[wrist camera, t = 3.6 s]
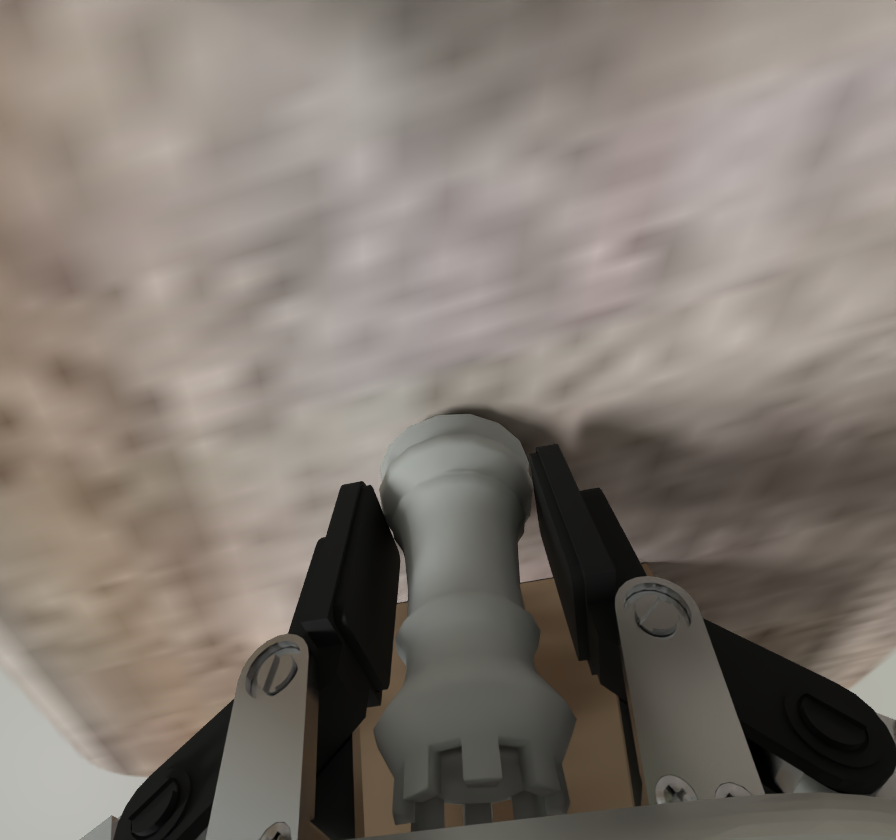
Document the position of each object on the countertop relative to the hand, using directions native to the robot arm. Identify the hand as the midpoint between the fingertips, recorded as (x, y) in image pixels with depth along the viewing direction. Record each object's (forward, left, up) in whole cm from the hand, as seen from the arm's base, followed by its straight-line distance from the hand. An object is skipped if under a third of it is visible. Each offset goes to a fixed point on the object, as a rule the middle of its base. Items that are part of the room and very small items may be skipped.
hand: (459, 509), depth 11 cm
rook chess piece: (0, 0, -2) cm, 2 cm away
